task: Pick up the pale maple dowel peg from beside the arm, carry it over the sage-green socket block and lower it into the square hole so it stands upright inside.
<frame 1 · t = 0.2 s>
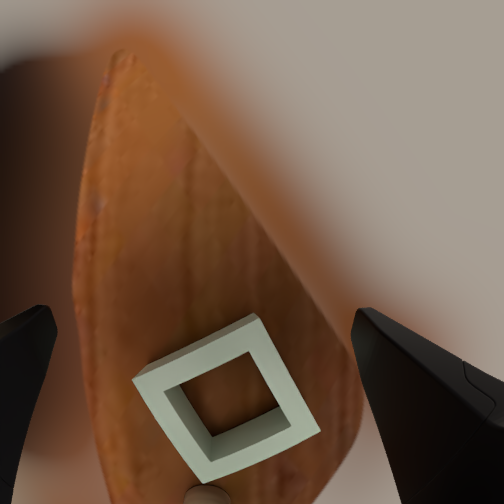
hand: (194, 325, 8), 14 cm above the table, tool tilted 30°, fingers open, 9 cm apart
socket: (227, 391, 22), on the table
peg: (207, 500, 20), on the table
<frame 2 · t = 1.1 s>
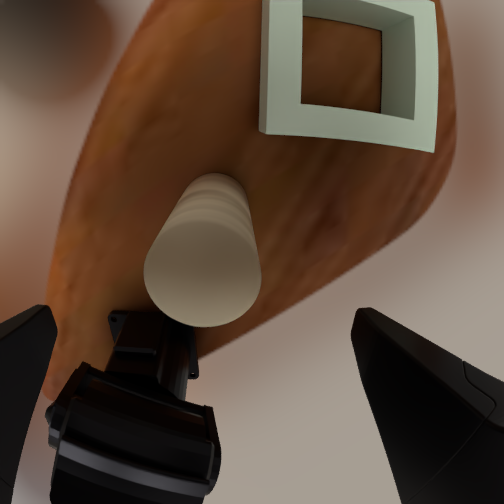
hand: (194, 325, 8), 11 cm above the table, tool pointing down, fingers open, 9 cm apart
socket: (337, 64, 15), on the table
peg: (214, 205, 19), on the table
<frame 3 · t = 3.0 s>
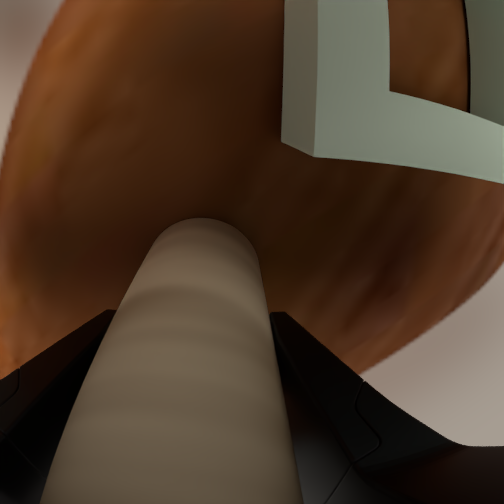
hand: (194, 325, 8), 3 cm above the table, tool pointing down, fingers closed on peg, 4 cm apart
socket: (410, 35, 8), on the table
peg: (202, 272, 11), on the table, touching gripper
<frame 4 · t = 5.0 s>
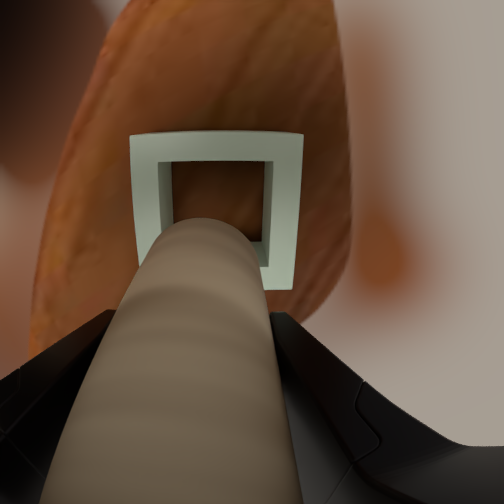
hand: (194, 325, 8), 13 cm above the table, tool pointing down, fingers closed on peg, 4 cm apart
socket: (217, 198, 20), on the table
peg: (202, 272, 11), point 10 cm above the table, touching gripper
when the fingers open (5 cm above the table, at t = 7.1 s): peg drops 3 cm, resting in socket.
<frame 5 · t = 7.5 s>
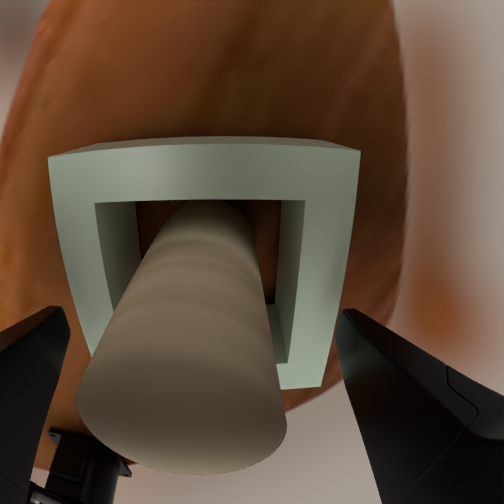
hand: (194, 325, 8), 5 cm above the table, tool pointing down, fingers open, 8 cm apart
socket: (207, 244, 13), on the table
peg: (206, 244, 13), resting in socket
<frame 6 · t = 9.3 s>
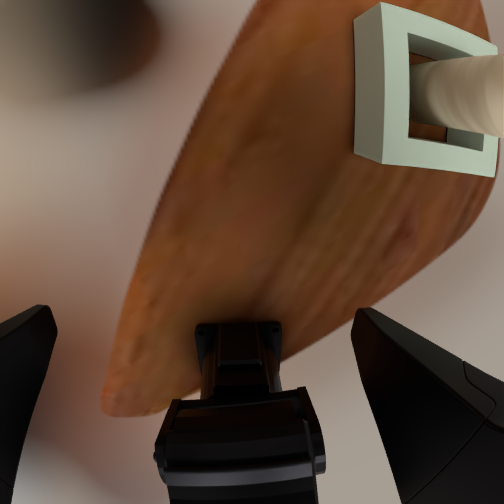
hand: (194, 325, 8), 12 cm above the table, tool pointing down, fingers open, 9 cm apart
socket: (415, 94, 16), on the table
peg: (414, 94, 16), resting in socket
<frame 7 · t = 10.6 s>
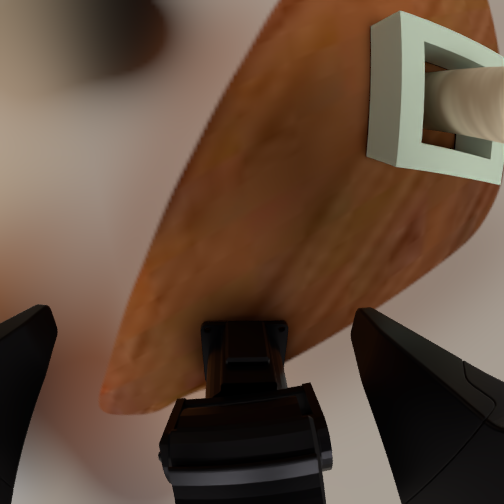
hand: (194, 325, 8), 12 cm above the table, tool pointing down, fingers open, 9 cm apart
socket: (427, 101, 17), on the table
peg: (426, 101, 17), resting in socket
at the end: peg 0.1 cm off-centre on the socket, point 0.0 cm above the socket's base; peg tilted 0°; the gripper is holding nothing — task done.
